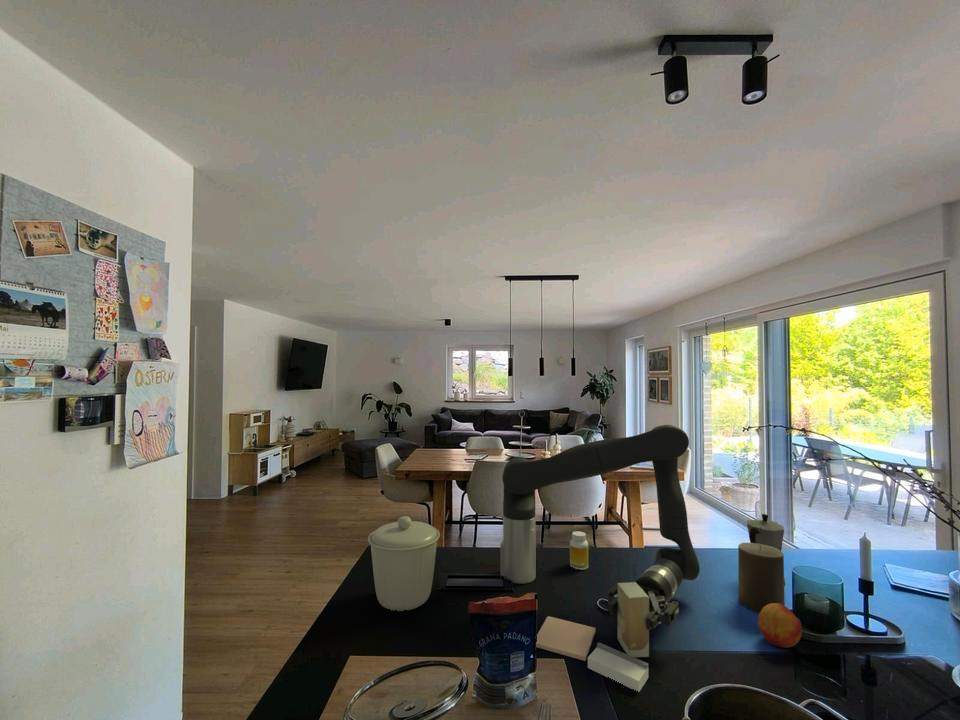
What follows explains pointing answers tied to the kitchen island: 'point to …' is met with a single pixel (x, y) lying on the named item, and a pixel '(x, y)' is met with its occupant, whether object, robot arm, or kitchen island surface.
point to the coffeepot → (766, 532)
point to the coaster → (565, 638)
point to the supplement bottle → (579, 551)
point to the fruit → (779, 625)
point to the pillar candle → (760, 575)
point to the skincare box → (633, 619)
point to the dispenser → (618, 666)
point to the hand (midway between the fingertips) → (629, 617)
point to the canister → (403, 563)
